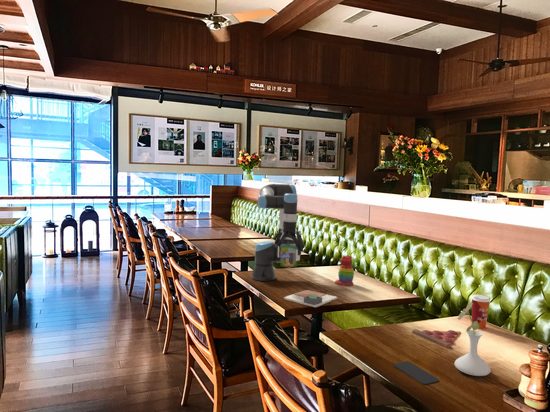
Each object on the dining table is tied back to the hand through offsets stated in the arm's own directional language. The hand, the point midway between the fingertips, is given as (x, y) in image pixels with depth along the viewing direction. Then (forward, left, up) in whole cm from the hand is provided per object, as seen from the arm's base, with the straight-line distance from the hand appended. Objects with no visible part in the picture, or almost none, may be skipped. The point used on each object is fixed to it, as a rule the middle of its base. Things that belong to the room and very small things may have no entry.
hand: (288, 258), depth 237 cm
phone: (+92, -49, -19) cm, 106 cm away
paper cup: (+97, +16, -19) cm, 100 cm away
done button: (+24, -10, -16) cm, 31 cm away
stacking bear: (+16, +38, -19) cm, 45 cm away
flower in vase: (+106, -35, -19) cm, 113 cm away
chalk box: (0, 0, -4) cm, 4 cm away
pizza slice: (+89, -7, -20) cm, 92 cm away
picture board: (+18, -3, -19) cm, 26 cm away
